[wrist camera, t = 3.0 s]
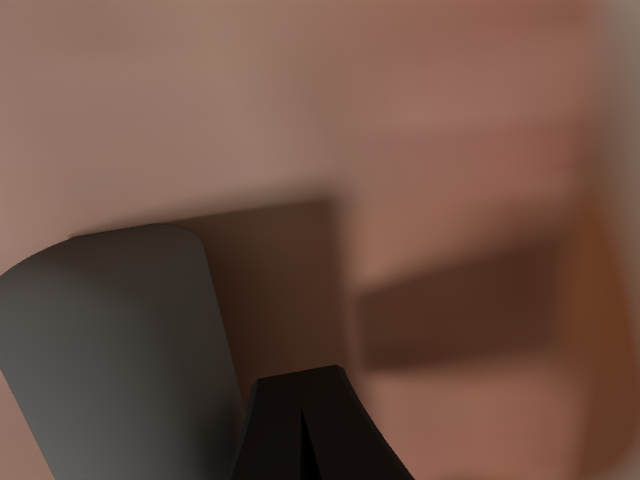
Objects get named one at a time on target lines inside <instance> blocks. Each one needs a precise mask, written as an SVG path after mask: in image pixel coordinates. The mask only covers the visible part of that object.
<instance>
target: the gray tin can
mask: <svg viewBox="0 0 640 480" xmlns="http://www.w3.org/2000/svg"><path fill="white" fill-rule="evenodd" d="M0 369H1V371H2V373H3V375H4V377H5V379H6V381H7V383H8V385H9V387H10V389H11V391H12V393H13V395H14V397H15V399H16V401H17V403H18V405H19V407H20V409H21V411H22V413H23V415H24V417H25V419H26V421H27V423H28V425H29V427H30V429H31V431H32V434H33V436H34V438H35V440H36V442H37V444H38V446H39V448H40V450H41V452H42V454H43V456H44V458H45V460H46V462H47V464H48V466H49V468H50V470H51V472H52V474H53V476H54V478H55V480H225V479H226V477H227V474H228V471H229V468H230V465H231V462H232V460H233V457H234V454H235V451H236V447H237V444H238V441H239V438H240V434H241V431H242V427H243V424H244V420H245V416H246V413H245V409H244V405H243V401H242V397H241V393H240V389H239V385H238V381H237V377H236V373H235V369H234V365H233V361H232V357H231V353H230V349H229V345H228V341H227V337H226V333H225V329H224V325H223V321H222V317H221V313H220V309H219V305H218V301H217V297H216V293H215V289H214V285H213V281H212V277H211V273H210V269H209V265H208V261H207V257H206V253H205V249H204V245H203V243H202V241H201V239H200V238H199V237H198V236H197V235H195V234H194V233H192V232H191V231H189V230H186V229H184V228H180V227H177V226H171V225H164V224H148V225H142V226H136V227H130V228H124V229H118V230H112V231H106V232H101V233H95V234H89V235H83V236H78V237H74V238H71V239H69V240H66V241H63V242H60V243H58V244H56V245H53V246H51V247H48V248H46V249H44V250H42V251H40V252H38V253H36V254H34V255H32V256H30V257H28V258H27V259H25V260H23V261H21V262H20V263H18V264H17V265H15V266H13V267H12V268H10V269H9V270H8V271H6V272H5V273H4V274H2V275H1V276H0Z"/></svg>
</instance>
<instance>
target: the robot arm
mask: <svg viewBox="0 0 640 480" xmlns="http://www.w3.org/2000/svg"><path fill="white" fill-rule="evenodd" d="M225 480H415V479H414V478H413V477H412V475H411V474H410V473H409V471H408V470H407V469H406V467H405V466H404V464H403V463H402V462H401V460H400V459H399V458H398V456H397V455H396V454H395V452H394V451H393V450H392V448H391V447H390V446H389V444H388V443H387V442H386V440H385V439H384V437H383V436H382V434H381V433H380V431H379V430H378V429H377V427H376V426H375V424H374V422H373V421H372V419H371V418H370V416H369V415H368V413H367V412H366V410H365V408H364V407H363V405H362V403H361V402H360V400H359V398H358V397H357V395H356V393H355V391H354V389H353V388H352V386H351V384H350V382H349V380H348V377H347V375H346V373H345V370H344V369H343V368H341V367H340V366H338V365H331V366H325V367H320V368H314V369H309V370H304V371H298V372H293V373H287V374H282V375H277V376H271V377H266V378H260V379H257V381H256V382H255V383H254V384H253V385H252V388H251V394H250V399H249V404H248V408H247V413H246V416H245V420H244V424H243V427H242V431H241V434H240V438H239V441H238V444H237V447H236V451H235V454H234V457H233V460H232V462H231V465H230V468H229V471H228V474H227V477H226V479H225Z"/></svg>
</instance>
